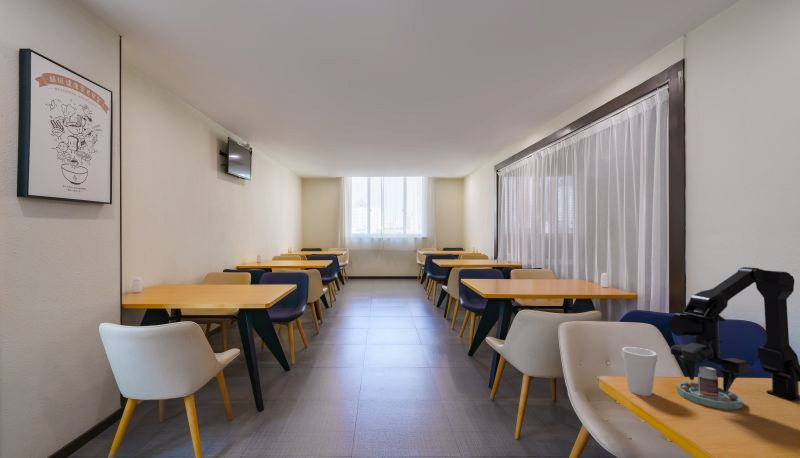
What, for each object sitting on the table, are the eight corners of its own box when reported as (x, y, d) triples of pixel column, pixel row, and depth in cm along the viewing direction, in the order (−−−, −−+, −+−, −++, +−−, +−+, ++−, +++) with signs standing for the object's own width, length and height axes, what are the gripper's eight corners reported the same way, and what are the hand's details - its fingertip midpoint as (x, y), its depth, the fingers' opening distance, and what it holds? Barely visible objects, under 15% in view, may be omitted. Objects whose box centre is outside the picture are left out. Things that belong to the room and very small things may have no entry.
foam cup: (651, 388, 116) (651, 348, 116) (662, 399, 107) (661, 357, 108) (619, 384, 119) (618, 345, 120) (627, 395, 110) (626, 353, 111)
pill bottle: (722, 399, 106) (721, 371, 106) (704, 398, 107) (703, 370, 107) (711, 393, 110) (711, 366, 111) (694, 391, 111) (694, 365, 112)
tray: (698, 385, 118) (697, 377, 118) (754, 405, 104) (754, 396, 104) (666, 391, 113) (666, 382, 113) (720, 413, 99) (720, 403, 99)
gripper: (658, 329, 116) (659, 377, 115) (725, 345, 98) (726, 402, 97) (681, 327, 119) (682, 373, 118) (750, 342, 101) (752, 396, 101)
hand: (708, 385), depth 109 cm, fingers open, 9 cm apart
